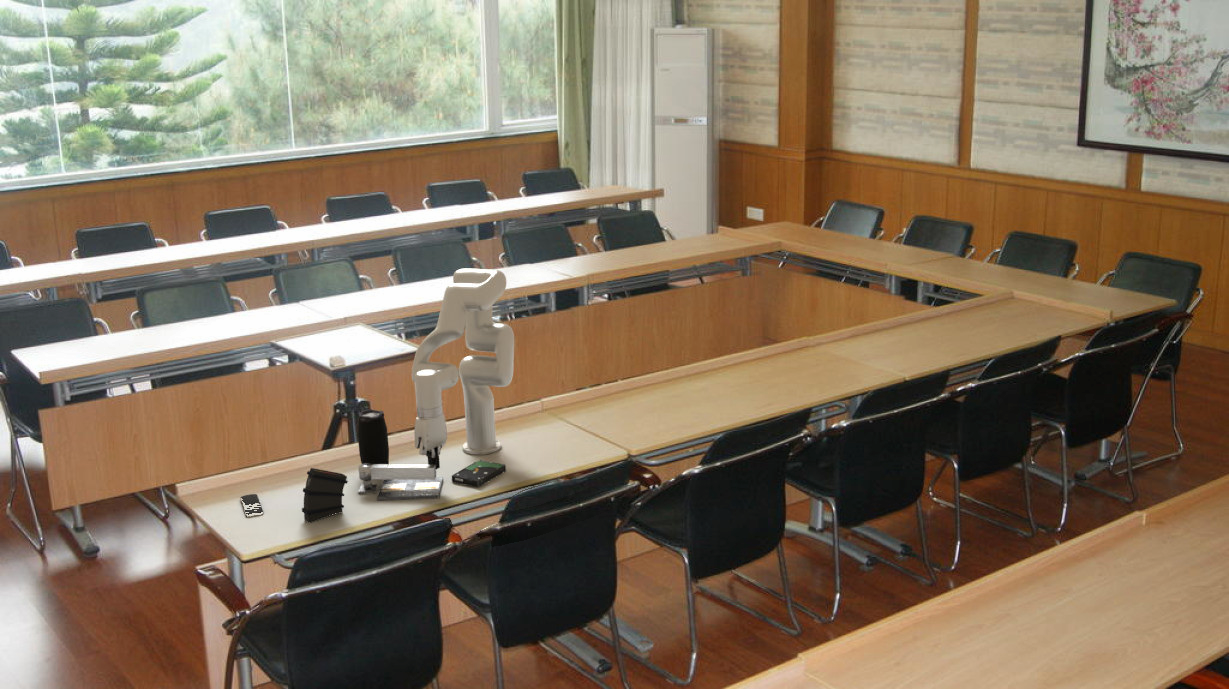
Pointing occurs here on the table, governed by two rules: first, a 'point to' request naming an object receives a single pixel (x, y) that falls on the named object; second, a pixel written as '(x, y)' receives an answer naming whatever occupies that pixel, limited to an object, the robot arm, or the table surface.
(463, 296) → the robot arm
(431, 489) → the psu panel
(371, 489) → the pivot post
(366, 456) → the portable speaker
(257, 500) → the remote control
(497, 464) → the disk drive
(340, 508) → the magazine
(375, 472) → the bar
